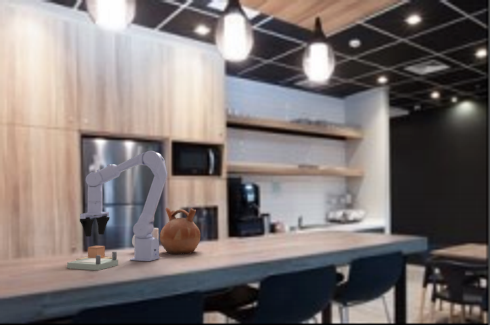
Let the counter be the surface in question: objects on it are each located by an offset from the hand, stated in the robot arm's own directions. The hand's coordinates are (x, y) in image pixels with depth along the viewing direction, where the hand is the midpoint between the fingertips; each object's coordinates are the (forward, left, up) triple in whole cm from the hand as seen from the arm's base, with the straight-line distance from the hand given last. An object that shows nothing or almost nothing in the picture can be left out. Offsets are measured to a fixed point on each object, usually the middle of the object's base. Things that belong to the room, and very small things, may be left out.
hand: (94, 235), depth 170 cm
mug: (-7, -26, -10) cm, 29 cm away
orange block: (-3, +2, -9) cm, 9 cm away
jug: (-24, -28, -10) cm, 38 cm away
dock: (-10, +12, -10) cm, 18 cm away
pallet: (-3, +2, -10) cm, 10 cm away
